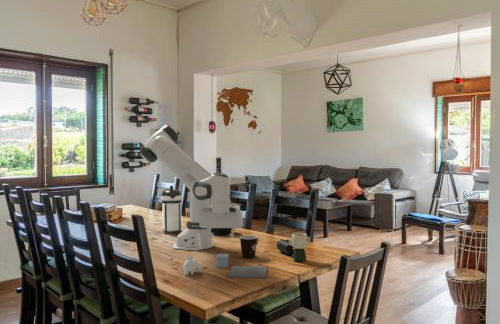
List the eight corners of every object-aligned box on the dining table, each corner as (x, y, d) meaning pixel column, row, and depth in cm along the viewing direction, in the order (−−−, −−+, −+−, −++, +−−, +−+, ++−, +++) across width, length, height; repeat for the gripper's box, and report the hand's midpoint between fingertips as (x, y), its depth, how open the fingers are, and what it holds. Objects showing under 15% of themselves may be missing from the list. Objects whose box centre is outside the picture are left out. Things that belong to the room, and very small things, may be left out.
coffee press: (189, 230, 274) (189, 185, 273) (172, 235, 261) (171, 187, 259) (170, 228, 283) (169, 183, 282) (152, 232, 270) (151, 186, 268)
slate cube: (216, 267, 194) (216, 256, 194) (218, 264, 199) (218, 253, 199) (227, 267, 193) (227, 256, 193) (228, 264, 198) (228, 253, 198)
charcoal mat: (228, 277, 179) (228, 275, 179) (232, 267, 193) (232, 265, 193) (265, 278, 177) (265, 276, 177) (267, 268, 191) (267, 266, 191)
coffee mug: (244, 260, 204) (244, 240, 204) (237, 256, 212) (236, 236, 212) (265, 257, 210) (265, 237, 209) (257, 253, 217) (257, 234, 217)
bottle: (217, 237, 254) (217, 188, 252) (203, 233, 266) (202, 186, 265) (238, 233, 263) (238, 186, 262) (223, 229, 276) (223, 184, 275)
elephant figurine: (203, 275, 183) (203, 258, 182) (181, 276, 181) (180, 260, 180) (201, 269, 190) (201, 254, 190) (180, 271, 188) (179, 255, 188)
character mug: (306, 257, 208) (306, 231, 207) (313, 261, 201) (312, 234, 200) (286, 259, 205) (286, 233, 204) (291, 263, 198) (291, 236, 197)
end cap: (276, 252, 219) (276, 239, 219) (288, 250, 222) (287, 237, 222) (286, 256, 210) (286, 243, 210) (298, 255, 213) (298, 241, 213)
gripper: (197, 209, 193) (198, 238, 193) (241, 209, 190) (242, 239, 191) (200, 206, 199) (201, 235, 200) (243, 206, 197) (243, 236, 197)
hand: (221, 237), depth 195 cm, fingers open, 8 cm apart
